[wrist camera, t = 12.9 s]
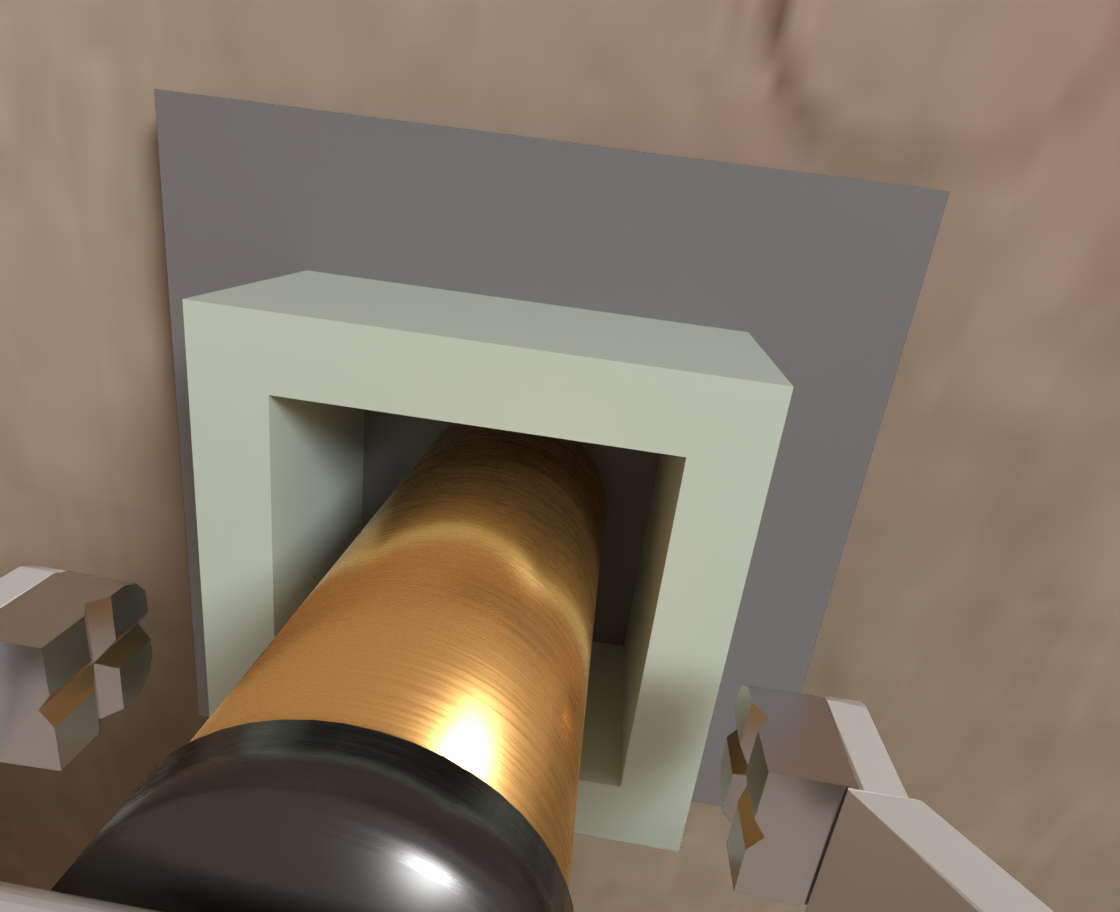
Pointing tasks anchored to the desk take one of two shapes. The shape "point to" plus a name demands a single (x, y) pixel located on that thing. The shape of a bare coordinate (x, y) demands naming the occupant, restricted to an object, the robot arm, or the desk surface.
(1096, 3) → the desk surface
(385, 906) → the bottle
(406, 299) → the docking plate
